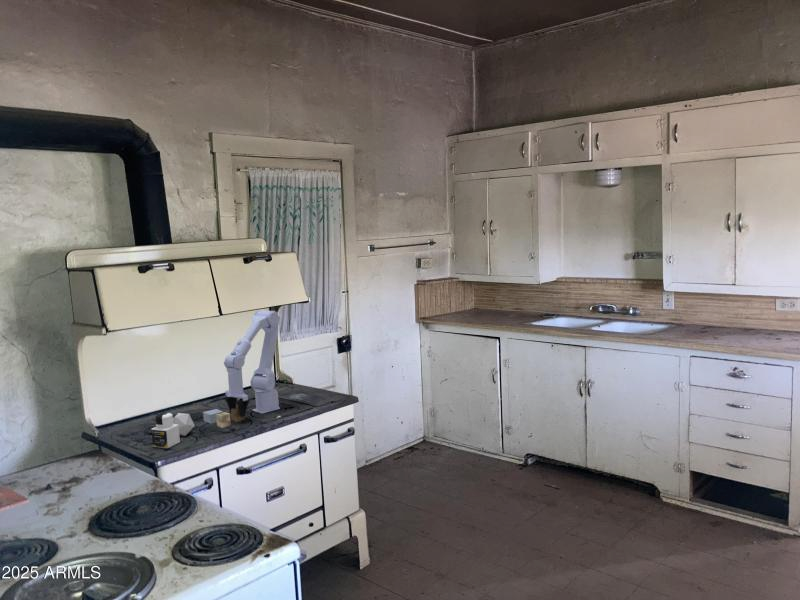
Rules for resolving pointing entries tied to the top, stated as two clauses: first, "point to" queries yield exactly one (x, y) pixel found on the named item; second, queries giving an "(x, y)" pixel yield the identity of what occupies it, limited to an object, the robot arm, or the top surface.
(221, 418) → the maple block
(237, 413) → the walnut block
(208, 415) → the base block
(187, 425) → the die
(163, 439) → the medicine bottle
